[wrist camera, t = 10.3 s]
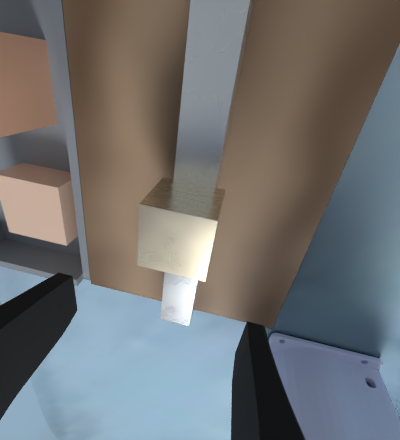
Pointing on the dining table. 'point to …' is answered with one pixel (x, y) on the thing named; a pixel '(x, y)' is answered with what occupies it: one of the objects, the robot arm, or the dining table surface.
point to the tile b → (39, 203)
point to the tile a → (24, 85)
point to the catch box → (45, 146)
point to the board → (237, 136)
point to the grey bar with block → (195, 157)
